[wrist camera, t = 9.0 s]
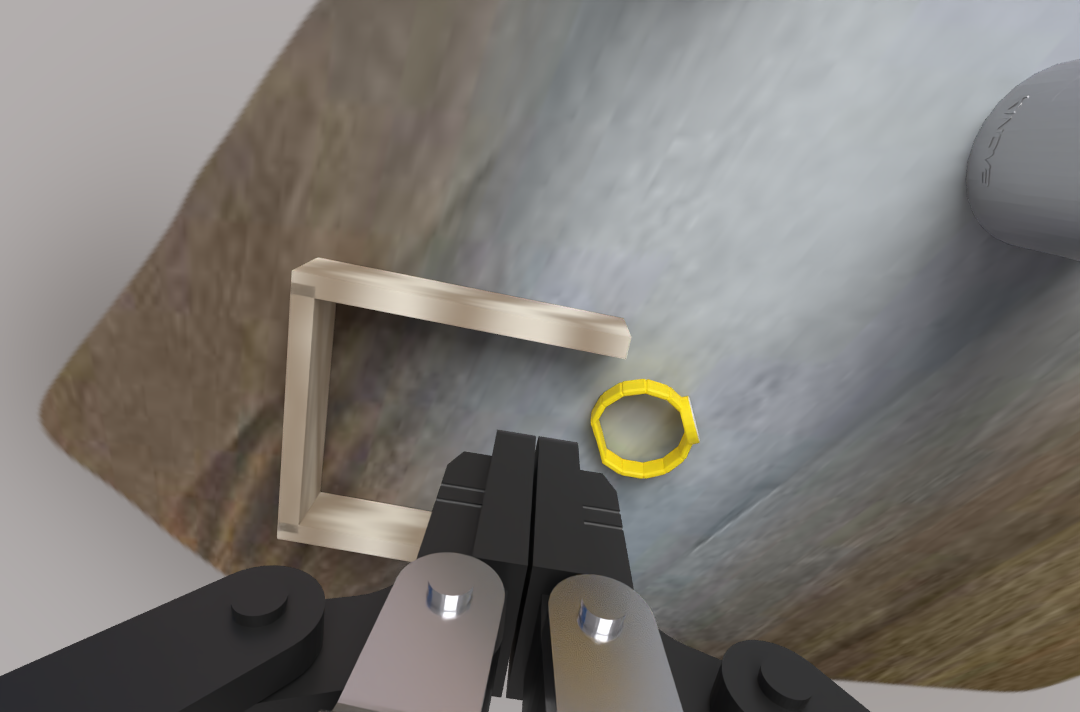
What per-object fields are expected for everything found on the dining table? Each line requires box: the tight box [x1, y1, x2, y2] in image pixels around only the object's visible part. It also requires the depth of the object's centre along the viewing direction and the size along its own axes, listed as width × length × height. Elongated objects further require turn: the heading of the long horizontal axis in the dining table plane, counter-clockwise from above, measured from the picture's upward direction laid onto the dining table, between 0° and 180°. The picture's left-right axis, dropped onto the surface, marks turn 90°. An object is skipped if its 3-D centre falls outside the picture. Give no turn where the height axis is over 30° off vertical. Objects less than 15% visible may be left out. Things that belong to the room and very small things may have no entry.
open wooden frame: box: [277, 258, 631, 562], centre depth 34 cm, size 17×16×4 cm
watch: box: [591, 379, 700, 479], centre depth 35 cm, size 6×3×6 cm
